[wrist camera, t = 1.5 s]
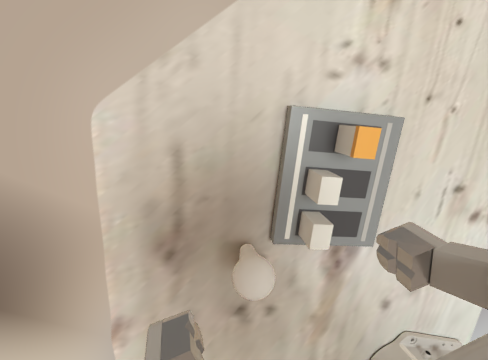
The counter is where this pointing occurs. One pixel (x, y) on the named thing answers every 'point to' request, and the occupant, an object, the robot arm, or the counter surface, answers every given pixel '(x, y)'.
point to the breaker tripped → (358, 141)
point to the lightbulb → (253, 274)
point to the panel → (331, 163)
